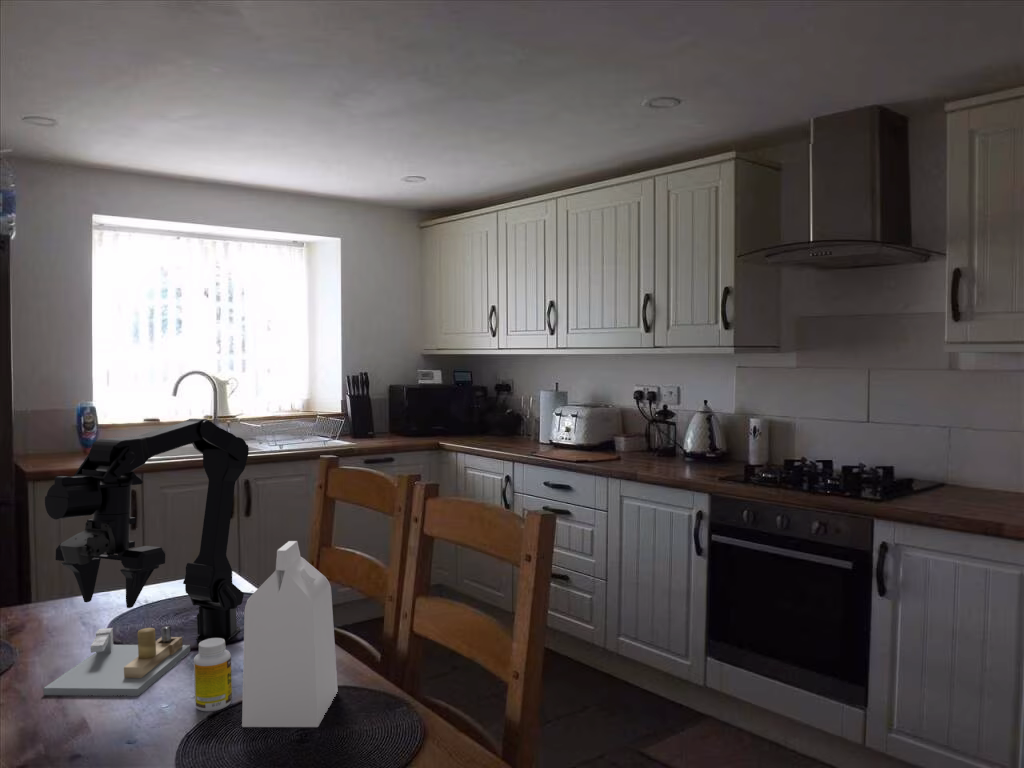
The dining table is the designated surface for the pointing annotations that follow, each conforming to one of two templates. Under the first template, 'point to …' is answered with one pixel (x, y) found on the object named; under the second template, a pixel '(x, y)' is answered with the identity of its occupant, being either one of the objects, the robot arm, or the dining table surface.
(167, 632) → the peg
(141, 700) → the dining table surface
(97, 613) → the dining table surface
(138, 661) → the latch bar
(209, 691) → the supplement bottle
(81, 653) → the dining table surface
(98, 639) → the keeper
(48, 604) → the dining table surface
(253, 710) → the milk
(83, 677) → the board
